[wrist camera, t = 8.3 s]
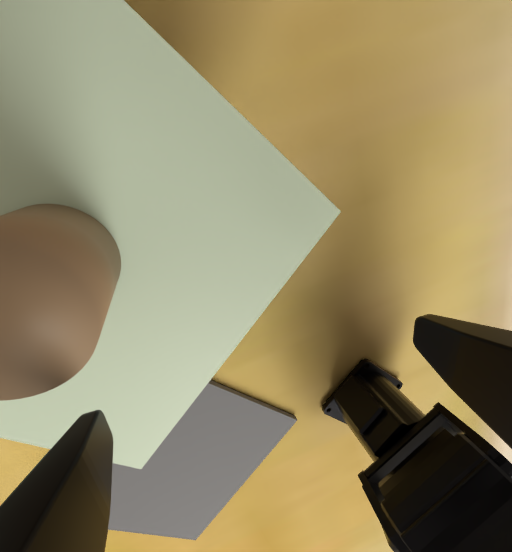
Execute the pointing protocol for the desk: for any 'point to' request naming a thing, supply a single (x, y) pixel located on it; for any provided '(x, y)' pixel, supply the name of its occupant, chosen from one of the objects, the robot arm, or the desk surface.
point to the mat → (197, 465)
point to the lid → (128, 225)
